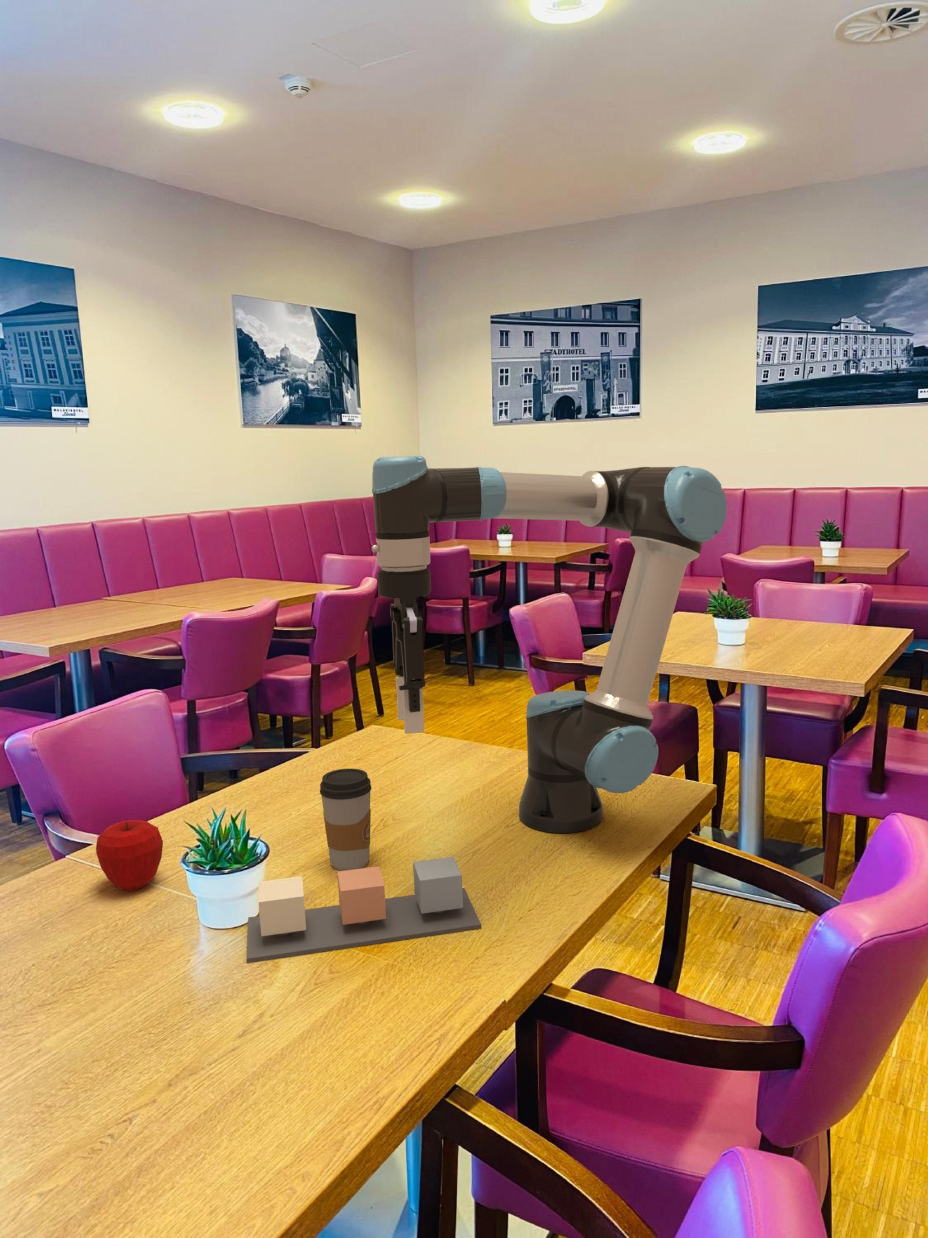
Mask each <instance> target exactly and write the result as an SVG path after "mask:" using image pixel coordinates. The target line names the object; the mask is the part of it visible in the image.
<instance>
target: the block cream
mask: <svg viewBox="0 0 928 1238" xmlns="http://www.w3.org/2000/svg"><path fill="white" fill-rule="evenodd" d="M303 882H304V881H303V876H300V875H299V876H294V877H293V876H291V877H286V878H277V879H268V880H262V881H258V911H259V912H258V913H259V916H260V927H261V936H267V935H274V934H282V933H289V932H296V931H303V930H306V920H305V910H306V908H305V907H306V906H305V896H304V884H303Z"/></svg>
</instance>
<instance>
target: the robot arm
mask: <svg viewBox="0 0 928 1238" xmlns="http://www.w3.org/2000/svg"><path fill="white" fill-rule="evenodd" d="M427 465H428V464H427V460H426V458H425V457H424V456H422V455H410V456H408V455H406V456H405V455H404V456H382V457H381V456H380V457H379V458H376V459H375V461H374V462H373V464H372V482H371V483H372V484H371V485H372V486H371V487H372V488H371V493H372V500H373V515H374V530H375V542H376V544H374V545H372V547H371V552H373V553H376V565H377V566H378V567H379V568H381V569H378V571H377V572H376V576H377V577H376V578H377V579H376V580H377V592H378V595H379V596H380V597H381V598H385V599H393V600H394V601H393V603H390V606H389V615H390V616H389V617H390V618H391V633H392V635H391V636H392V656H393V657H392V658H393V659H392V661H393V662H392V666H393V668H394V673H395V675H396V676H395V686H396V688H395V689H396V708H397V709H396V711H397V720H398V721H403V724H404V725H403V727H404V728H403V729H404V733H405V734H406V735H409V734H419V733H425V718H424V717H425V715H424V693H423V692H424V691H423V688H425V687H426V680H425V663H424V662H425V659H424V644H423V643H424V642H423V623H424V620H423V619H424V618H423V616H422V610H421V609H422V608H419V606H418V603H417V599H418V598H419V597H426V596H428V595H430V593H431V592H432V579H431V576H432V575H431V569H429V567H428V565H430V564H431V543H430V539H431V537H430V524H436V523H447V522H448V523H449V522H450V523H451V522H466V521H467V522H468V521H479V522H482V521H483V520H490V519H507V520H508V519H509V520H510V519H511V520H542V521H543V520H545V521H546V520H547V521H548V520H550V521H552V520H553V521H579V523H580V524H582V525H583V526H585V527H591V528H592V527H594V528H604V529H605V528H606V529H610V530H615V531H616V530H617V531H621V532H623V533H624V532H625V533H630V536H629V542H630V543H631V544H632V547H633V548H634V552H635V553H634V556H633V560H632V563H631V567H630V570H629V574H628V577H627V581H626V585H625V589H624V591H623V595H622V598H621V601H620V602H621V603H620V606H619V609H618V613H617V616H616V620H615V622H614V623H615V624H614V627H613V631H612V634H611V638H610V641H609V645H608V647H607V651H606V652H607V653H606V655H605V659H604V661H603V665H602V669H601V672H600V675H599V680H598V683H597V687H596V689H595V690H594V691H593V692H591V693H590V692H587V691H584V690H556V691H555V690H554V691H548V692H547V691H546V692H543V693H538V694H535V695H534V696H532V697H530V698H529V700H528V701H527V703H526V712H525V713H526V715H525V719H526V738H527V739H526V740H527V741H526V743H527V778H526V781H525V784H524V787H523V791H522V794H521V797H520V800H519V803H518V817H519V820H520V821H521V822H522V824H523V825H525V826H527V827H529V828H532V829H534V830H536V831H541V832H545V833H546V832H547V833H553V834H554V833H555V834H561V833H562V834H567V833H568V834H569V833H570V834H571V833H578V832H583V831H587V830H589V829H592V828H595V827H597V826H598V825H599V824H600V823H602V820H603V817H604V815H603V810H604V808H603V807H604V806H603V802H602V799H601V796H600V793H599V790H598V789H601V790H604V791H606V792H609V793H612V794H613V793H614V794H625V793H628V792H632V791H633V790H636V788H637V787H638V786H640V785H642V784H644V783H645V782H646V780H647V779H648V778H649V777H650V776H651V775H652V773H653V771H654V770H655V767H656V765H657V761H658V758H659V745H658V744H657V739H656V737H655V736H654V734H653V733H652V732H651V727H652V723H653V721H654V716H653V714H652V712H651V710H650V708H649V704H648V703H649V700H650V698H651V697H650V696H651V693H652V689H653V685H654V681H655V678H656V675H657V672H658V669H659V665H660V660H661V658H662V654H663V651H664V648H665V644H666V643H665V642H666V639H667V637H668V633H669V629H670V625H671V622H672V618H673V615H674V612H675V609H676V606H677V600H678V597H679V593H680V590H681V587H682V585H683V584H682V583H683V580H684V577H685V573H686V569H687V566H688V564H690V563H691V562H692V561H694V560H696V559H698V558H699V557H700V554H701V551H702V547H703V544H704V543H705V542H708V541H709V540H712V539H713V538H714V537H716V536H715V535H718V534H719V533H720V532H721V530H722V529H723V527H724V525H725V521H726V519H727V515H728V514H727V513H728V504H727V503H728V502H727V501H728V500H727V498H726V497H727V496H726V493H725V491H724V490H723V488H722V484H721V482H720V481H719V479H718V478H717V477H716V476H715V475H714V474H713V473H712V472H710V471H709V470H707V469H704V468H700V467H691V466H687V465H680V466H641V467H640V466H638V467H632V468H631V467H630V468H624V469H618V470H617V469H616V470H615V469H614V470H589V471H587V472H584V473H583V474H582V475H565V474H564V475H563V474H545V473H544V474H543V473H525V472H507V471H505V472H503V471H499V470H498V469H497V468H494V467H481V466H475V467H459V468H458V467H453V468H452V467H449V468H448V467H446V468H441V467H440V468H430V467H429V466H427Z"/></svg>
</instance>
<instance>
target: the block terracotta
mask: <svg viewBox="0 0 928 1238" xmlns="http://www.w3.org/2000/svg"><path fill="white" fill-rule="evenodd" d="M336 874H337V884H338V885H337V888H338V902H339V903H338V905H340V911H341V917H342V923H343V925H345V924H352V923H359V922H366V921H373V920H380V919H386V907H385V899H386V892H385V891H386V890H385V883H384V879H383V875H382V871H381V868H380V866H371V867H363V868H361V869H354V870H346V871H339V870H337V873H336Z"/></svg>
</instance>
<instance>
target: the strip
mask: <svg viewBox="0 0 928 1238" xmlns="http://www.w3.org/2000/svg"><path fill="white" fill-rule="evenodd" d="M462 890H463V908H458V909H451V910H444V911H437V912H430V913H423V914H421V911H420V908H419V905H418V902H417V899H416V896H415V894H409V895H403V896H394V897H388V898H386V897H385V907H386V919H380V920H373V921H366V922H359V923H352V924H345V925H343V923H342V917H341V911H340V904H337V905H329V906H321V907H314V908H305V920H306V930H303V931H296V932H289V933H282V934H274V935H267V936H261V927H260V915H257V916H255V915H254V916H250V917H248V918H247V936H246V937H247V940H246V941H247V942H246V944H247V945H246V963H247V964H250V963H253V962H262V961H263V962H264V961H269V960H276V959H282V958H288V957H289V958H290V957H296V956H303V955H309V954H316V953H323V952H329V951H336V950H344V949H349V948H357V947H363V946H370V945H377V944H383V943H391V942H398V941H405V940H411V939H417V938H418V939H419V938H424V937H432V936H438V935H447V934H452V933H458V932H459V933H460V932H465V931H471V930H479V929H482V923H481V921H480V918H479V917H478V914H477V913H476V910H475V908H474V906H473V904H472V901H471V899H470V896H469V895H468V893H467V891H466V888H465V887H462Z"/></svg>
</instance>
